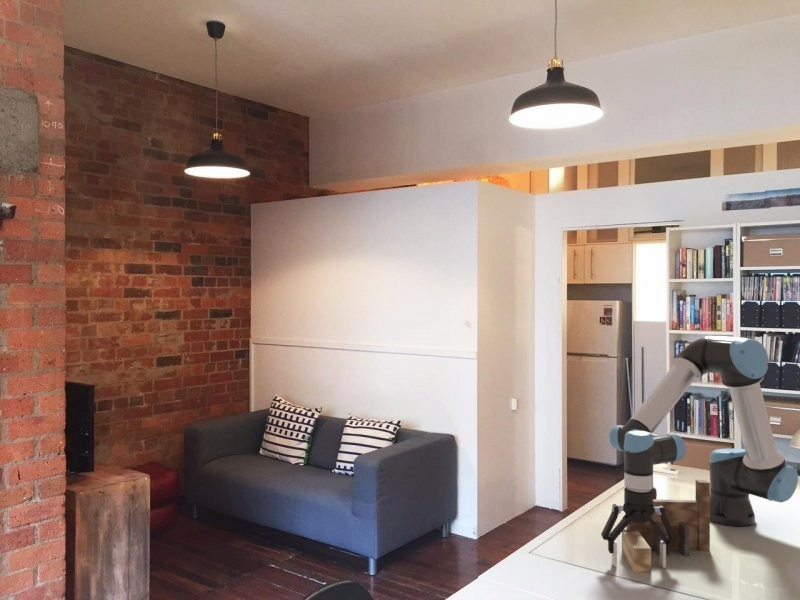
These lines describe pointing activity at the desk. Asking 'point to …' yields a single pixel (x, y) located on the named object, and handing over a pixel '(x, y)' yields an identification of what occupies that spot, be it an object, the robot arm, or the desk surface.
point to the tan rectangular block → (636, 551)
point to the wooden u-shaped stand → (681, 522)
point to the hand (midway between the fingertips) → (638, 565)
